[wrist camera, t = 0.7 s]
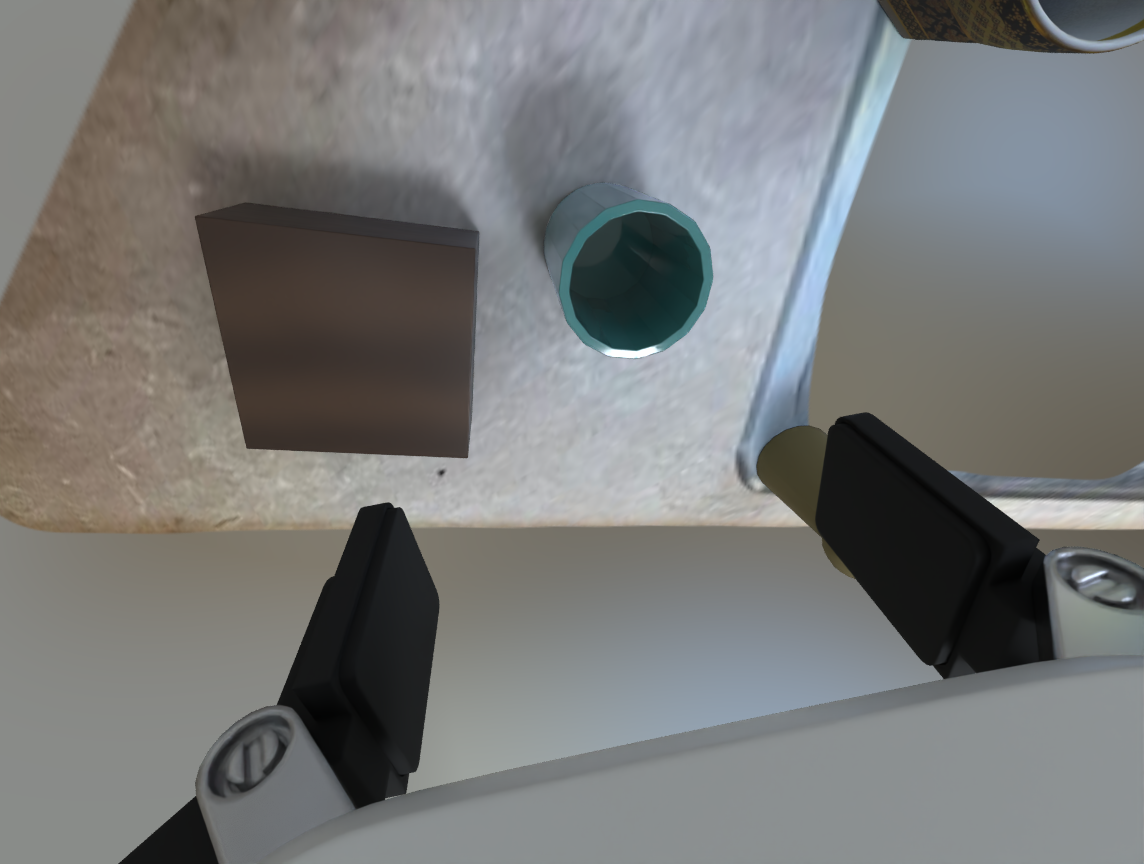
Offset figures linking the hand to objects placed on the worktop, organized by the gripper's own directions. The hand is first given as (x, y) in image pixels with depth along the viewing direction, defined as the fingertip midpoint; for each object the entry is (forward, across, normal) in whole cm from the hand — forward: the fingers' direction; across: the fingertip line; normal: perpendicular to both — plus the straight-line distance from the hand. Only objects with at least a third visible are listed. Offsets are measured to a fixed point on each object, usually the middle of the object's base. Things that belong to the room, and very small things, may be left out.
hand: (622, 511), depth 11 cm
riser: (+22, +11, +1) cm, 24 cm away
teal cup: (+22, -4, -1) cm, 22 cm away
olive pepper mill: (+22, -17, +17) cm, 33 cm away
